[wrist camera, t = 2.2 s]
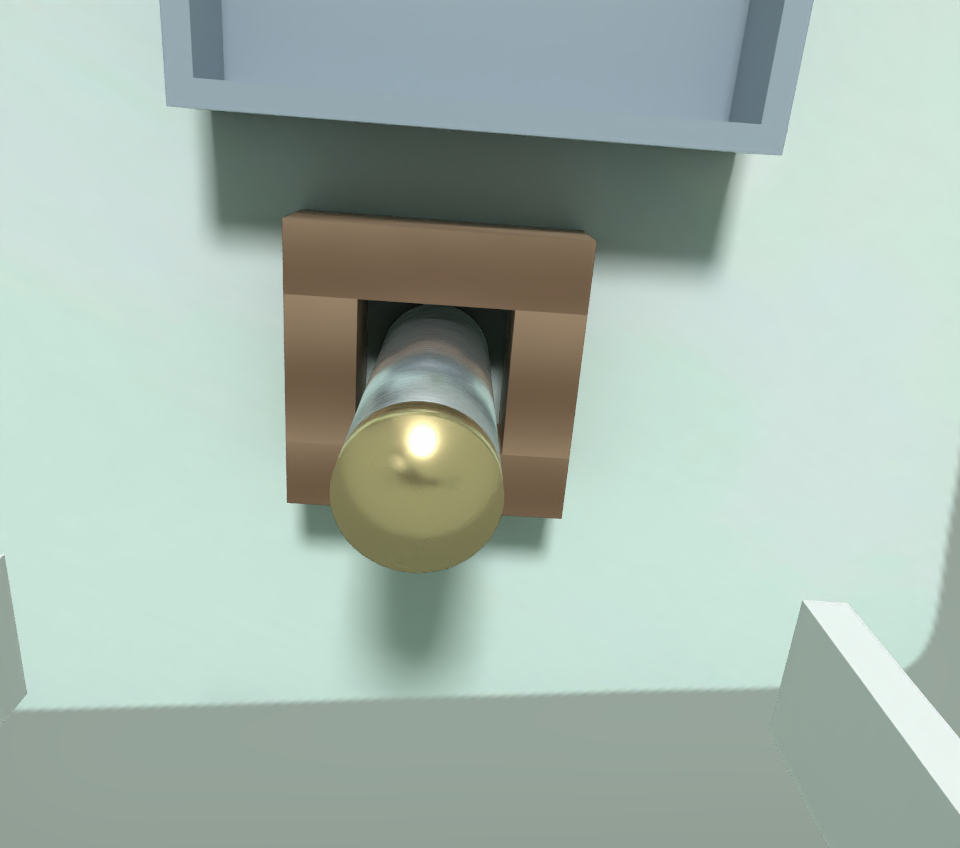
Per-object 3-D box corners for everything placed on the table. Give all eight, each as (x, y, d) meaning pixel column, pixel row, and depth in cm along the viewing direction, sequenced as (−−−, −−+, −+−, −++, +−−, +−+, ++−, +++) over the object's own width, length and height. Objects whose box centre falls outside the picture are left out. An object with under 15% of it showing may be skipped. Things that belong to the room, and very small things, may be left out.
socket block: (301, 209, 27) (281, 218, 24) (582, 230, 27) (596, 241, 24) (303, 468, 30) (287, 502, 27) (552, 483, 30) (561, 518, 28)
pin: (384, 300, 28) (329, 410, 16) (492, 307, 28) (511, 421, 17) (381, 402, 29) (329, 568, 18) (484, 409, 29) (496, 577, 18)
